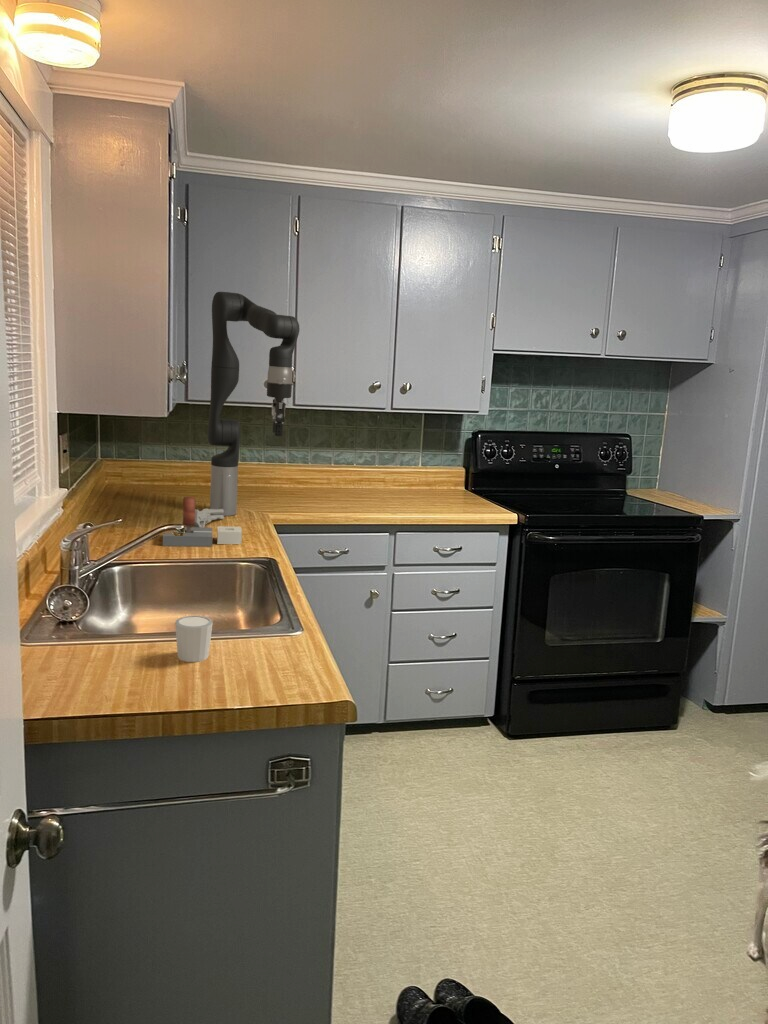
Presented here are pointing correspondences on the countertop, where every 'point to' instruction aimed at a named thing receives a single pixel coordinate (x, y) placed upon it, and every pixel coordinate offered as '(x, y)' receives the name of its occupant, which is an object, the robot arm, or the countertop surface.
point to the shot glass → (193, 638)
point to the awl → (189, 512)
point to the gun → (207, 516)
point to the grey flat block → (190, 538)
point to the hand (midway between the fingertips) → (277, 434)
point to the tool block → (229, 535)
